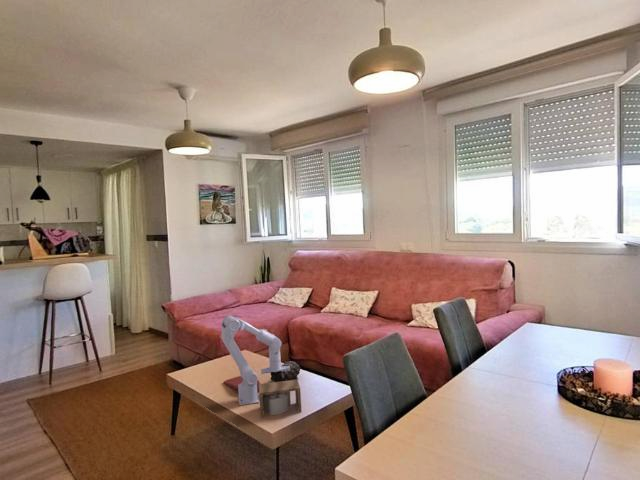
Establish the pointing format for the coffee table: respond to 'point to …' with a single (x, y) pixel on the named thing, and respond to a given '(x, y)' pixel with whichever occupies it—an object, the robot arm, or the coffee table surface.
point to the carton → (238, 382)
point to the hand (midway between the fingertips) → (276, 385)
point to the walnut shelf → (278, 388)
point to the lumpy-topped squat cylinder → (276, 402)
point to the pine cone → (289, 372)
